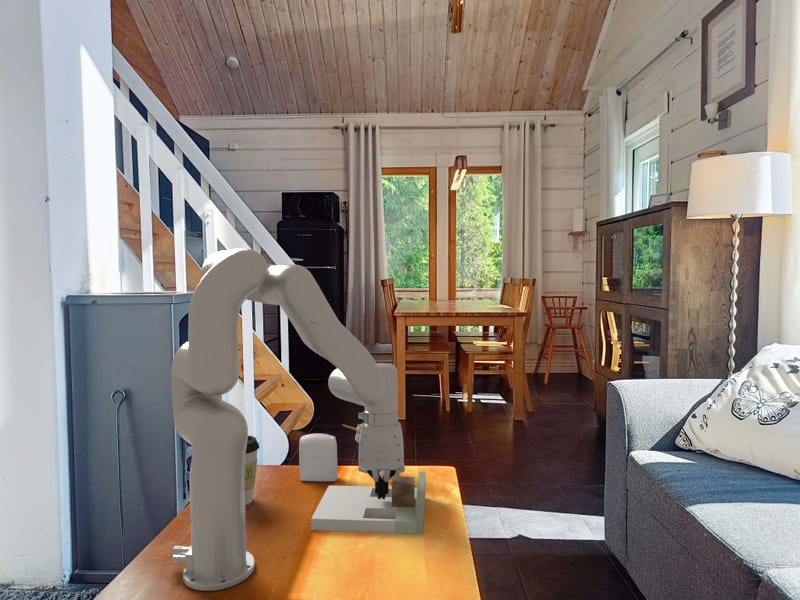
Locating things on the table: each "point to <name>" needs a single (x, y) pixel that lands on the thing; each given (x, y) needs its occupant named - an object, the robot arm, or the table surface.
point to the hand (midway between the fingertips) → (381, 496)
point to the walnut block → (403, 491)
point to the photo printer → (318, 458)
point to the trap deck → (368, 511)
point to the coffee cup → (250, 468)
